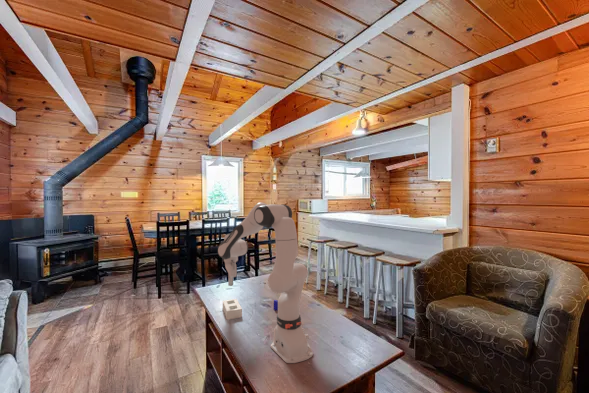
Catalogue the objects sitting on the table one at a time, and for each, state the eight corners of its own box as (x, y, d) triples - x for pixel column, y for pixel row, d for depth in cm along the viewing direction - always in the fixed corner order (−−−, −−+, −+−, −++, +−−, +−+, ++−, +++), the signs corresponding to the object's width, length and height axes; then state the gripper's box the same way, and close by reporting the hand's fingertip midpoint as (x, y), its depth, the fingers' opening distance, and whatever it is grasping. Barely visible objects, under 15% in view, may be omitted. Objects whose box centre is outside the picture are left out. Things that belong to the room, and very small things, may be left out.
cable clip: (283, 302, 176) (283, 294, 176) (288, 304, 174) (288, 295, 174) (271, 308, 167) (271, 299, 167) (277, 310, 164) (277, 301, 164)
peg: (233, 285, 164) (233, 270, 163) (228, 286, 162) (228, 270, 162) (232, 283, 166) (232, 268, 166) (227, 284, 165) (228, 269, 165)
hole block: (241, 316, 156) (242, 308, 156) (226, 319, 152) (226, 311, 152) (236, 306, 170) (236, 298, 170) (222, 308, 167) (222, 300, 166)
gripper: (239, 261, 156) (239, 284, 156) (232, 254, 174) (232, 274, 175) (228, 263, 153) (228, 285, 154) (223, 254, 172) (223, 275, 172)
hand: (230, 279), depth 164 cm, fingers closed on peg, 3 cm apart
